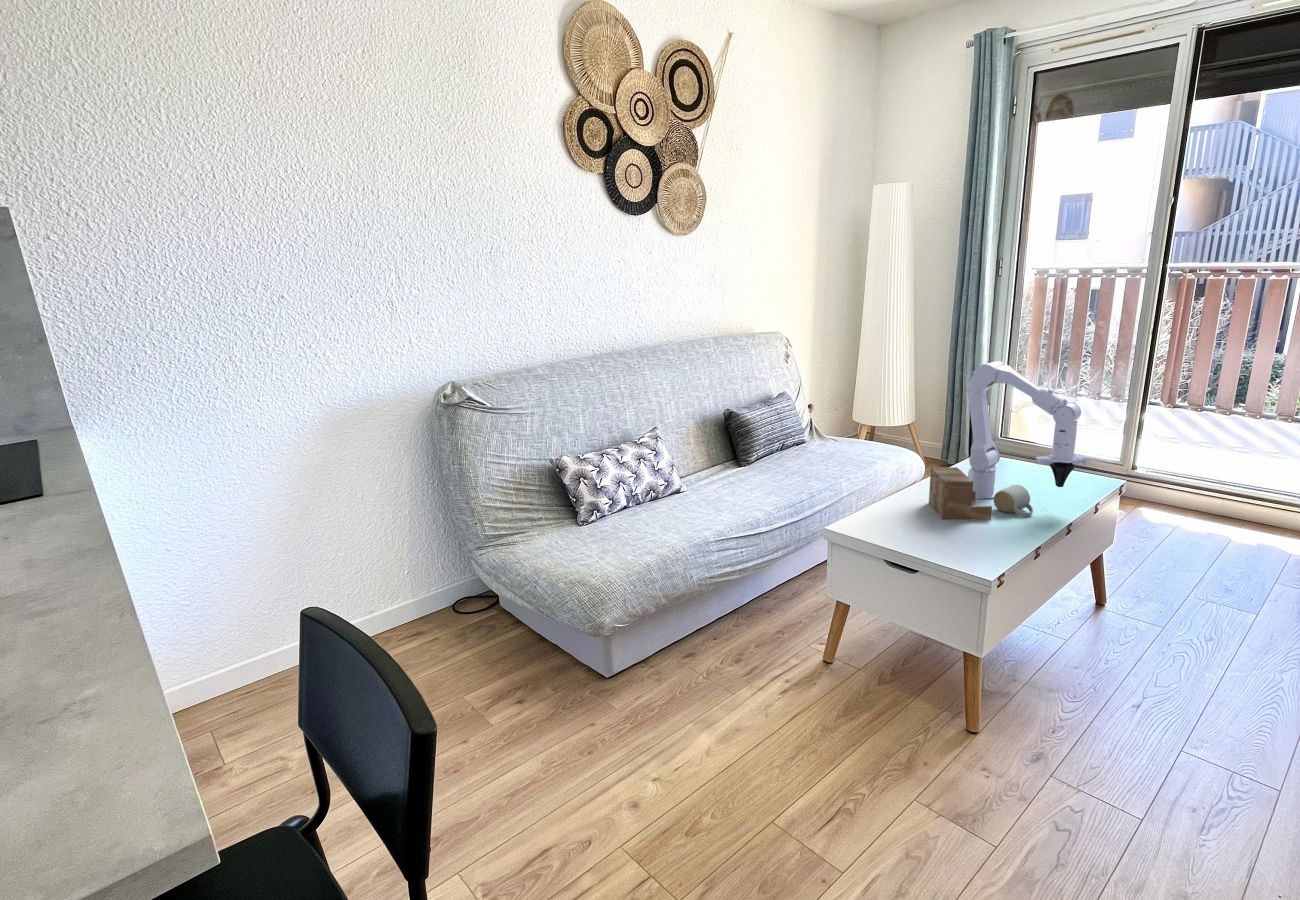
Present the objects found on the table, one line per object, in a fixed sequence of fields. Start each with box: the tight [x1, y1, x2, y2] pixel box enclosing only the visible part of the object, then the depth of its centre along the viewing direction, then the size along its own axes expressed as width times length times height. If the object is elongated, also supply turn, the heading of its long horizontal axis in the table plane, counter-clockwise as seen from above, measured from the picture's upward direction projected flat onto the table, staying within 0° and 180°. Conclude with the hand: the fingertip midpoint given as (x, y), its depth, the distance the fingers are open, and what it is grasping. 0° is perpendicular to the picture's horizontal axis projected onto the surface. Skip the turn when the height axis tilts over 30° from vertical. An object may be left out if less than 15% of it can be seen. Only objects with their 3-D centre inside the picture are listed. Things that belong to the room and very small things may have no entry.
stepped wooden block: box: [928, 466, 993, 521], centre depth 217 cm, size 15×14×12 cm
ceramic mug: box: [993, 483, 1034, 517], centre depth 215 cm, size 11×8×8 cm
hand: (1059, 486), depth 214 cm, fingers closed
